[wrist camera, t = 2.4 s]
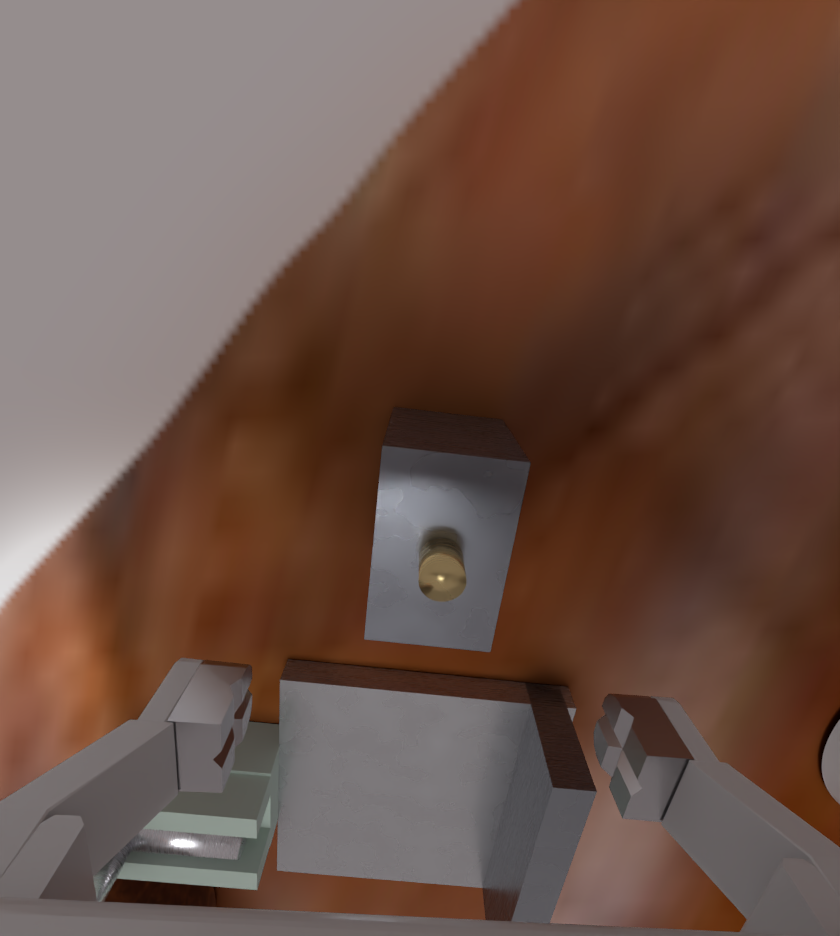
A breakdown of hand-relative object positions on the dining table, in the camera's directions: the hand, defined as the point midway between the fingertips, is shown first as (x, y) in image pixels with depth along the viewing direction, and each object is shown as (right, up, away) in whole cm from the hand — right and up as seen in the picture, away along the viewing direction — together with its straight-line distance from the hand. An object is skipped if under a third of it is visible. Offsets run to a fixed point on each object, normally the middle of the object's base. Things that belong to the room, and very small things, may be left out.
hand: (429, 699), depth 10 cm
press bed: (-1, -14, +18) cm, 23 cm away
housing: (+1, +4, +12) cm, 13 cm away
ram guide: (-13, -12, +18) cm, 25 cm away
